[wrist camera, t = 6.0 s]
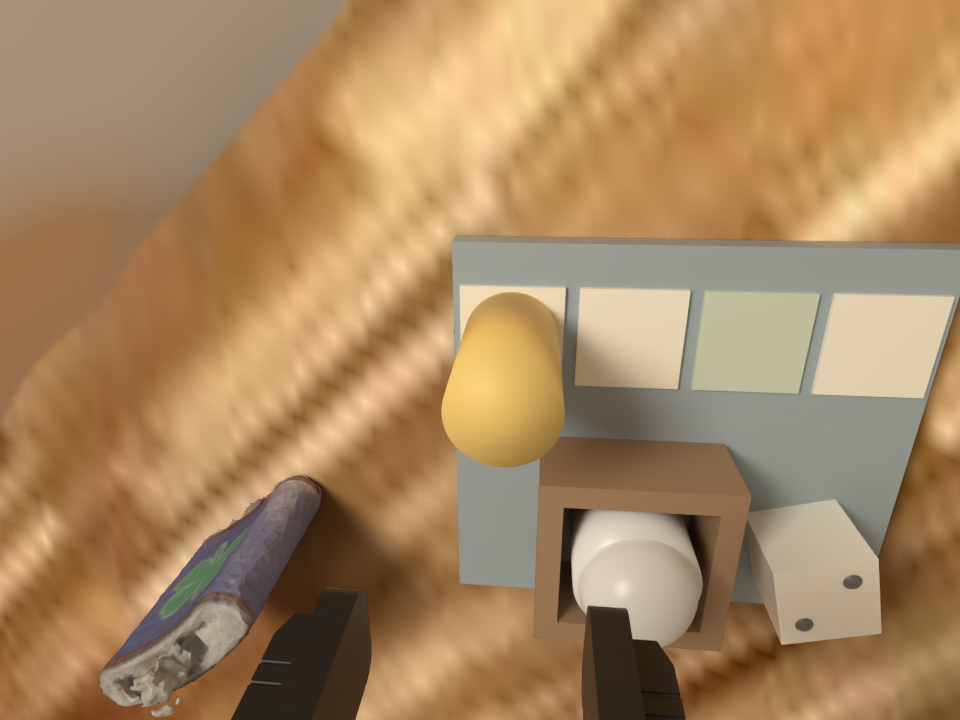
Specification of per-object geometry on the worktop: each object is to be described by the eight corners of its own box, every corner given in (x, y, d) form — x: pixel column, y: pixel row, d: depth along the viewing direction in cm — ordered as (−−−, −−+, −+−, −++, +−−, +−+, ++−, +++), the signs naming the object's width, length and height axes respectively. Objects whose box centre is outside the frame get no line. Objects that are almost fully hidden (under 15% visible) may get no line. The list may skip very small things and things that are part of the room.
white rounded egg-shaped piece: (566, 564, 30) (571, 676, 24) (572, 474, 28) (579, 573, 22) (675, 571, 30) (707, 687, 24) (689, 480, 28) (728, 583, 22)
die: (753, 578, 30) (783, 648, 27) (744, 513, 29) (774, 577, 25) (840, 567, 30) (884, 637, 26) (835, 499, 28) (881, 562, 24)
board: (462, 567, 33) (449, 645, 29) (456, 235, 26) (436, 266, 22) (850, 592, 32) (904, 680, 27) (955, 243, 25) (1053, 278, 20)
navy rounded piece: (300, 464, 32) (192, 628, 22) (340, 502, 33) (252, 678, 23) (191, 546, 35) (53, 723, 25) (229, 579, 36) (109, 764, 26)
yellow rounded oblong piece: (464, 376, 27) (441, 463, 21) (465, 289, 26) (441, 354, 19) (555, 381, 27) (560, 471, 21) (562, 294, 25) (569, 362, 19)
